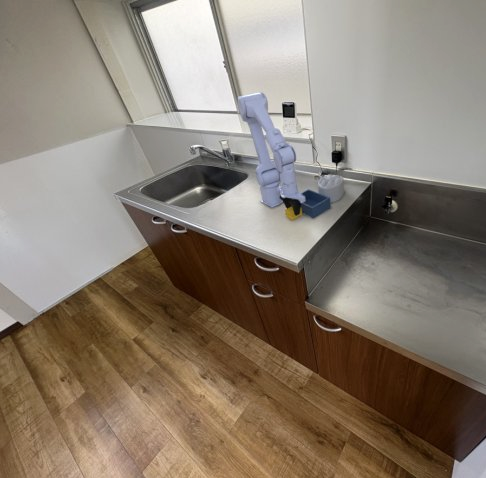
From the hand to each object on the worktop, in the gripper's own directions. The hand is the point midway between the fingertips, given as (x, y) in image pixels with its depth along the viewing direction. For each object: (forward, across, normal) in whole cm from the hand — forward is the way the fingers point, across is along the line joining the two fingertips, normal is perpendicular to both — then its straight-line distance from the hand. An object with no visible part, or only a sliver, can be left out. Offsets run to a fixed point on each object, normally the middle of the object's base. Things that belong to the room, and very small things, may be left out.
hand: (293, 212), depth 99 cm
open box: (+4, -2, +11) cm, 12 cm away
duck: (+1, 0, 0) cm, 1 cm away
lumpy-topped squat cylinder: (+4, -3, +24) cm, 24 cm away
